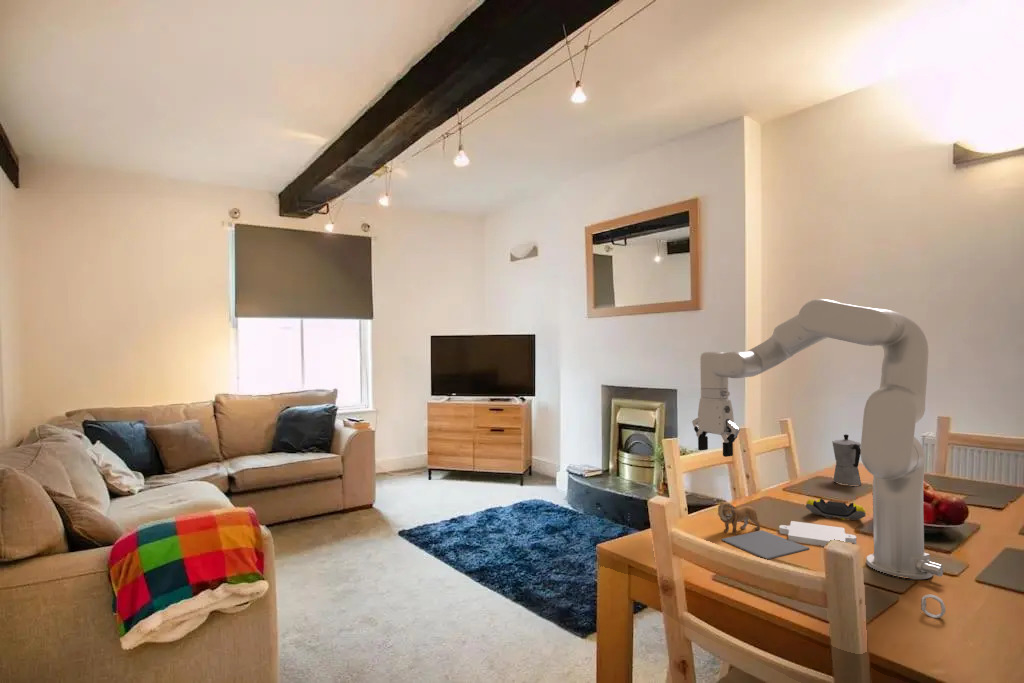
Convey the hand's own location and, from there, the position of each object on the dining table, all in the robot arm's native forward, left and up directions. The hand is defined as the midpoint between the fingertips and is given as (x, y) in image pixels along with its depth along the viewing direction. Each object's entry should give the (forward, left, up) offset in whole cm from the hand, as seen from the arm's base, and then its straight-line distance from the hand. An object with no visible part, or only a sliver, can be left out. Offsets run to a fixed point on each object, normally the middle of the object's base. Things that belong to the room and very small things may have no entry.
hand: (715, 452), depth 158 cm
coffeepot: (+11, -75, -21) cm, 78 cm away
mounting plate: (-20, -16, -21) cm, 33 cm away
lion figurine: (-8, -1, -21) cm, 22 cm away
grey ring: (-58, +3, -21) cm, 62 cm away
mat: (-18, +1, -21) cm, 27 cm away
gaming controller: (-12, -35, -21) cm, 43 cm away
